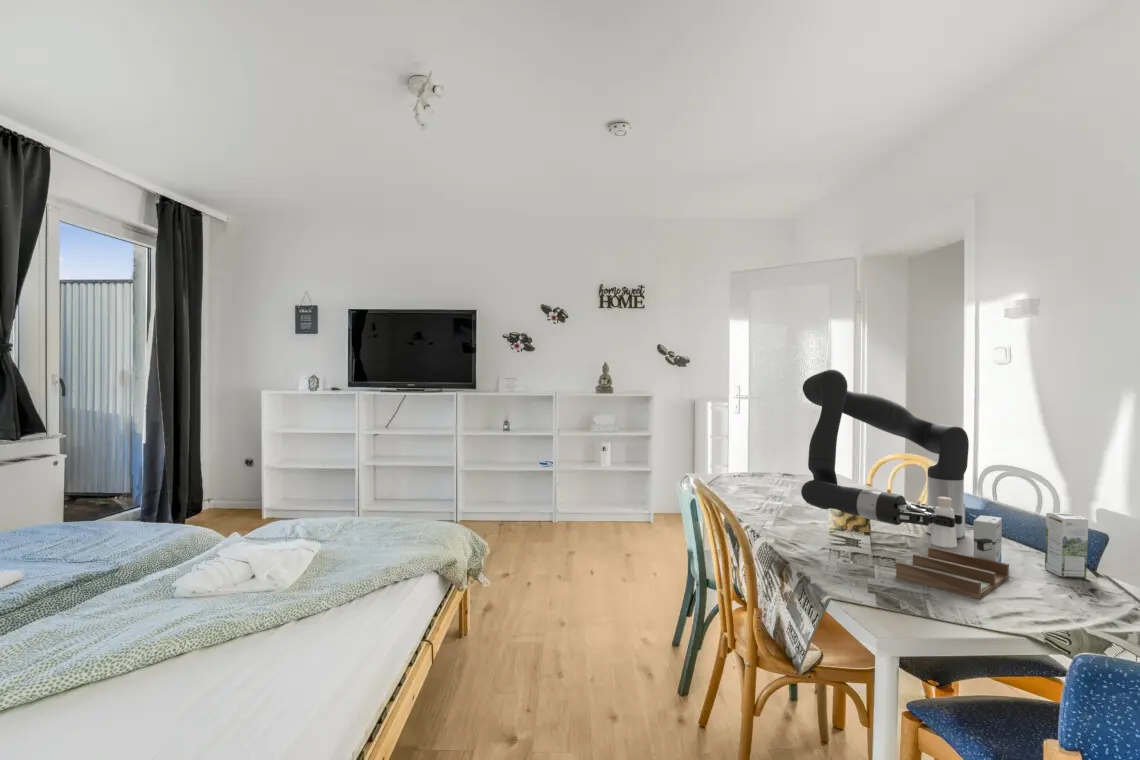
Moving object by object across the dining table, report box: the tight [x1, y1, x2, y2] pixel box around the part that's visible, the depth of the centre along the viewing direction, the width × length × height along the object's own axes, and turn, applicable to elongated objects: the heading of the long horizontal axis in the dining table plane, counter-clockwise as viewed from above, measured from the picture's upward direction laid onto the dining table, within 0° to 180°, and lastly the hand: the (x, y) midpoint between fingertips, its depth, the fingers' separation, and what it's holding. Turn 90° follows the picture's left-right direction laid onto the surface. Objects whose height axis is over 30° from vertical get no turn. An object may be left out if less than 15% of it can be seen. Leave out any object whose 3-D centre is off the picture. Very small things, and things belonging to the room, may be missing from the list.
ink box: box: [973, 514, 1003, 563], centre depth 148 cm, size 8×5×12 cm, turn 135°
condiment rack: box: [895, 546, 1010, 600], centre depth 138 cm, size 20×17×4 cm
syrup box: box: [1044, 512, 1089, 579], centre depth 140 cm, size 6×6×14 cm
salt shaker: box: [929, 497, 958, 548], centre depth 135 cm, size 5×5×11 cm
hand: (957, 521), depth 133 cm, fingers closed on salt shaker, 4 cm apart
